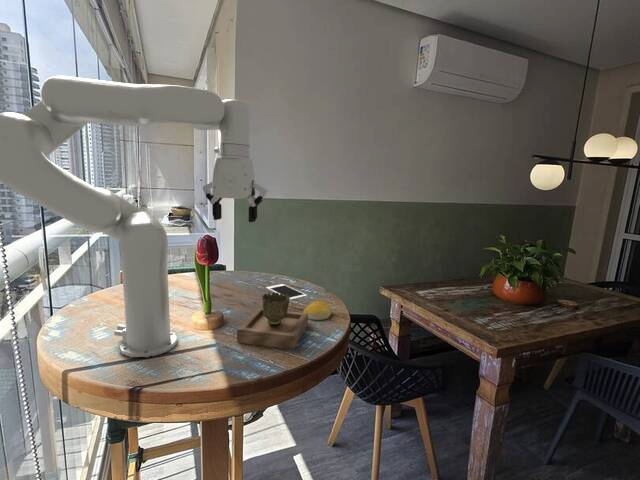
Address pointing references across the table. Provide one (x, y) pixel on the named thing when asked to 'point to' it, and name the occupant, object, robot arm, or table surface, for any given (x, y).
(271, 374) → the table surface
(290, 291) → the cell phone
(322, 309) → the bread roll
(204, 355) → the table surface
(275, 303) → the cup
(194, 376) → the table surface
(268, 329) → the walnut tray
